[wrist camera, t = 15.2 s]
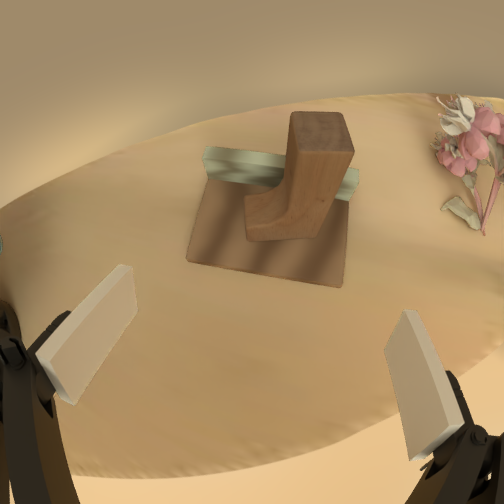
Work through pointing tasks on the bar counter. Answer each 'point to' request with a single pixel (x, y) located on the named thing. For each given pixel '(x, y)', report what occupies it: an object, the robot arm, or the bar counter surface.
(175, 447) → the bar counter surface
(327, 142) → the wooden block
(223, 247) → the walnut edge board
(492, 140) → the flower
